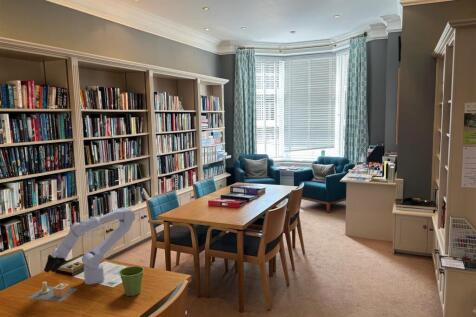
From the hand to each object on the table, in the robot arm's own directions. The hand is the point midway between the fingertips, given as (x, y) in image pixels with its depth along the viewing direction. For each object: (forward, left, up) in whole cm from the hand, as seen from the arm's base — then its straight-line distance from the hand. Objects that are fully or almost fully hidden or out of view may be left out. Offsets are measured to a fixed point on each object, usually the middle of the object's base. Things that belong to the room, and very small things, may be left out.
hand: (49, 271), depth 165 cm
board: (-1, 0, -13) cm, 13 cm away
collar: (-5, +3, -11) cm, 12 cm away
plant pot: (-37, +11, -13) cm, 41 cm away
